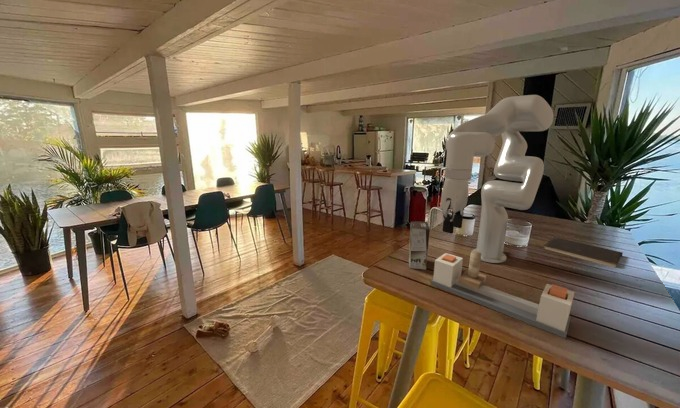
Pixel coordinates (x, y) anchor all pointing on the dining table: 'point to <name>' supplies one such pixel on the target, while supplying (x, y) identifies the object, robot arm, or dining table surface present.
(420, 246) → the coffee box
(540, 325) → the rail base
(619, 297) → the dining table surface
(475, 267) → the carriage
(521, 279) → the dining table surface
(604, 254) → the hardcover book
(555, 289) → the block
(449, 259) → the block
